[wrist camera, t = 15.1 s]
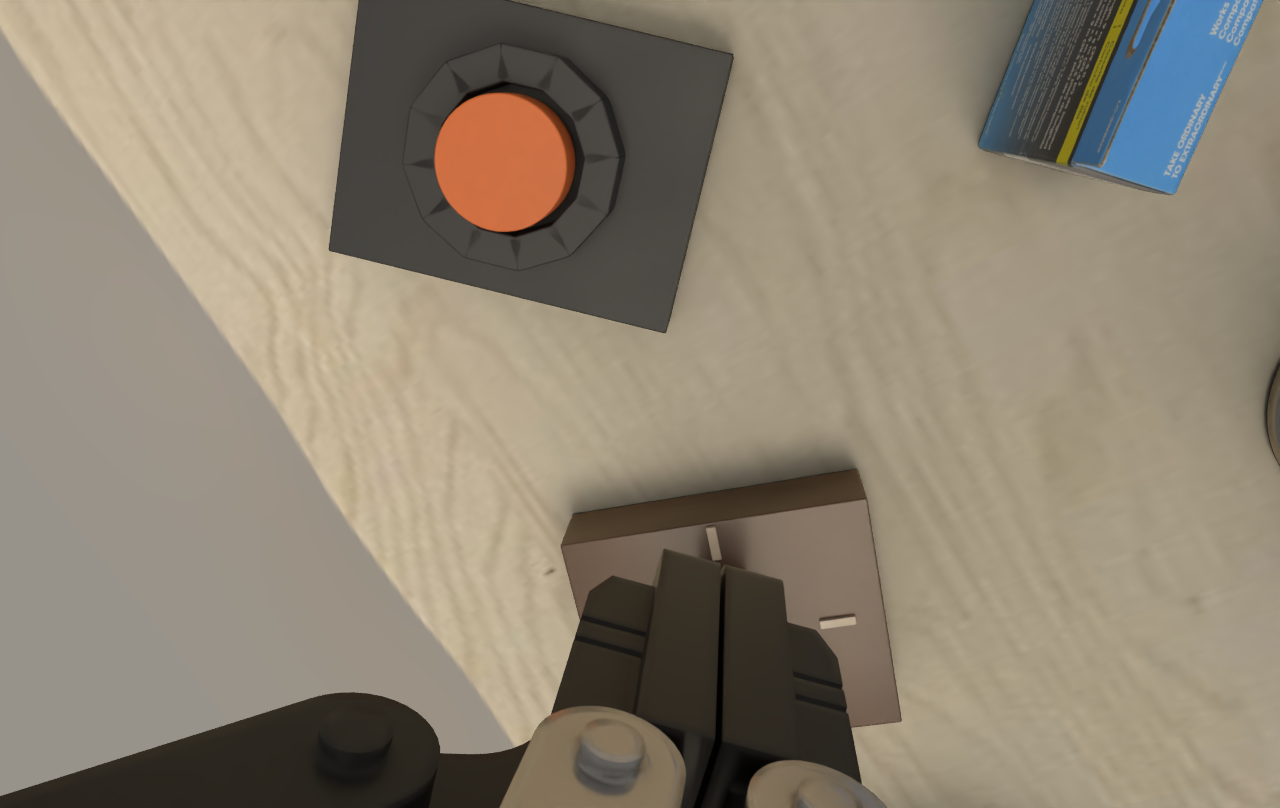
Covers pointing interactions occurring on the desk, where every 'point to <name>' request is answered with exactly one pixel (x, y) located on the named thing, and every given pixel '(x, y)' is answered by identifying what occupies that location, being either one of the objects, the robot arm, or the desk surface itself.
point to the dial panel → (765, 564)
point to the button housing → (597, 123)
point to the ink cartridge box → (1117, 86)
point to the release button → (504, 161)
